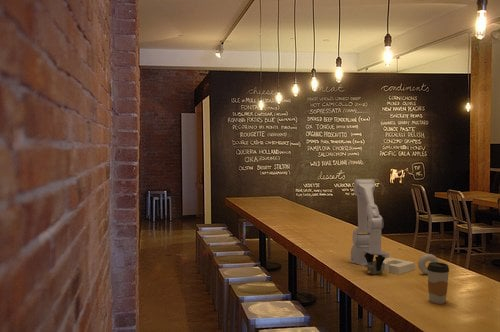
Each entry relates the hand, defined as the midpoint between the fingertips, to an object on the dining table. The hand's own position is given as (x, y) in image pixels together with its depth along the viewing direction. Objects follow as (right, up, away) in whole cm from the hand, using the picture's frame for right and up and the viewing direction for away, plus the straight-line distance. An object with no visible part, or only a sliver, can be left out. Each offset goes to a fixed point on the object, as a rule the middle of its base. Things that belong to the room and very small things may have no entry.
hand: (374, 269), depth 249 cm
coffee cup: (+15, -4, -43) cm, 45 cm away
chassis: (+12, -1, +8) cm, 14 cm away
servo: (0, -1, 0) cm, 1 cm away
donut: (+25, -2, -2) cm, 26 cm away
